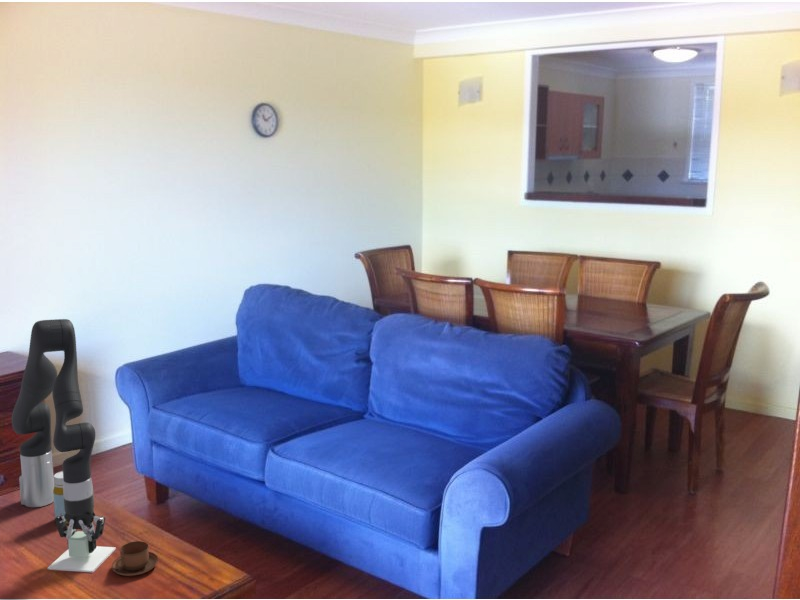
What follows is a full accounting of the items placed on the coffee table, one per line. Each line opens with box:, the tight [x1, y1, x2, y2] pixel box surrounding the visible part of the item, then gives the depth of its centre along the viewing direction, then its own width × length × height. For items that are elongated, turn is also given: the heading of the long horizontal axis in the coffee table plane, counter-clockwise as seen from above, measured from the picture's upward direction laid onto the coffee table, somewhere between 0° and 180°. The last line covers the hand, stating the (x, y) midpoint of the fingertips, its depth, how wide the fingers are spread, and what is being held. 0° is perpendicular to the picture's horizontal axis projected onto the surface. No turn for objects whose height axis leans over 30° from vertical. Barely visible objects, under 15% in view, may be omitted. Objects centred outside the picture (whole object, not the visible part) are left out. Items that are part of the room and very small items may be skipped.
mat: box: [47, 545, 117, 574], centre depth 212 cm, size 13×13×1 cm
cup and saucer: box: [111, 540, 159, 577], centre depth 207 cm, size 12×12×6 cm
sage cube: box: [67, 530, 90, 557], centre depth 211 cm, size 5×5×5 cm
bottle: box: [53, 470, 69, 525], centre depth 234 cm, size 7×7×15 cm
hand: (82, 550), depth 212 cm, fingers closed on sage cube, 5 cm apart
